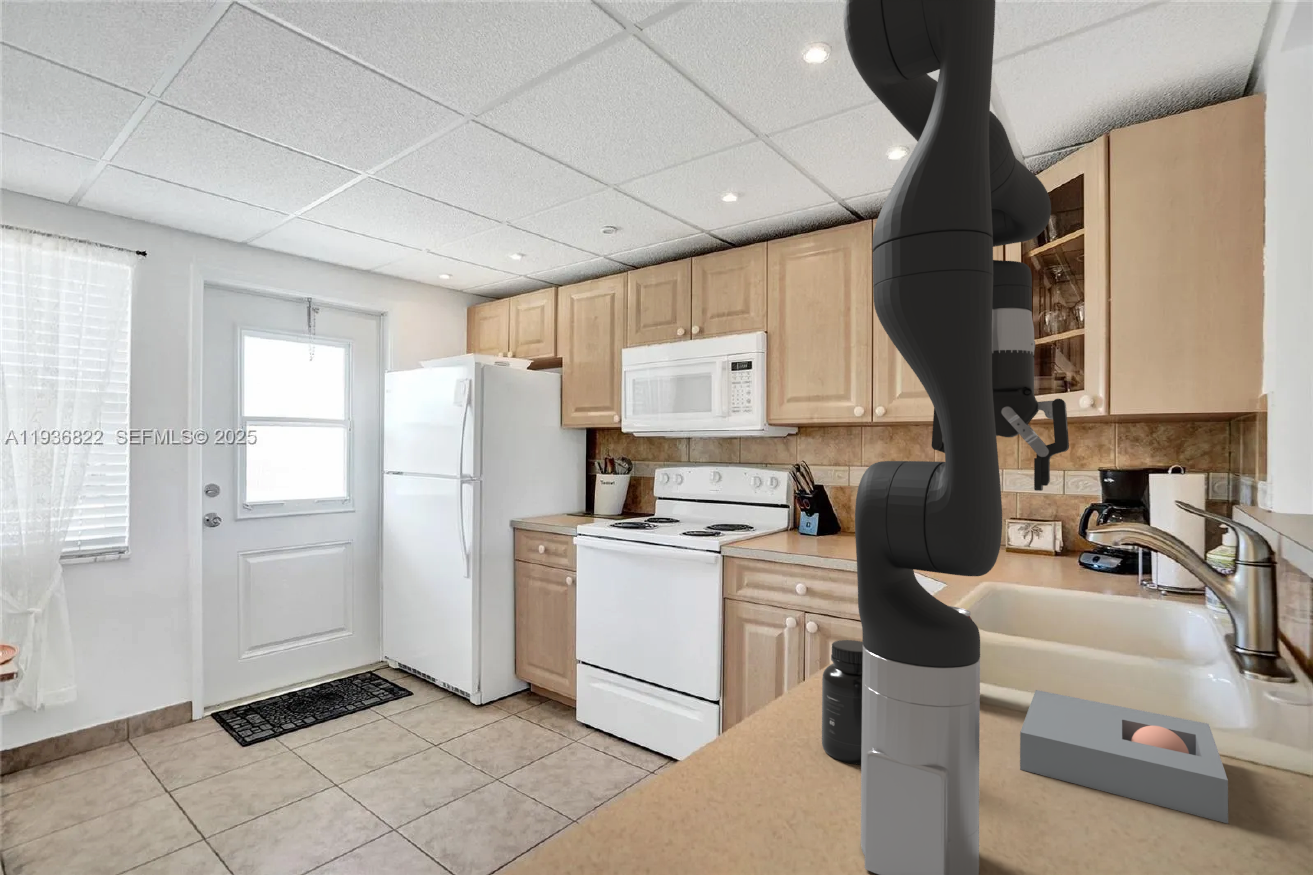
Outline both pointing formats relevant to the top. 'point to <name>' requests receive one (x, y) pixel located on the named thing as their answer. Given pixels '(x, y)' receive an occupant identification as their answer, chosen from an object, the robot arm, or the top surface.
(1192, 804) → the grey block with recess
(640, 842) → the top surface
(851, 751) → the supplement bottle
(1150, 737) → the ball
